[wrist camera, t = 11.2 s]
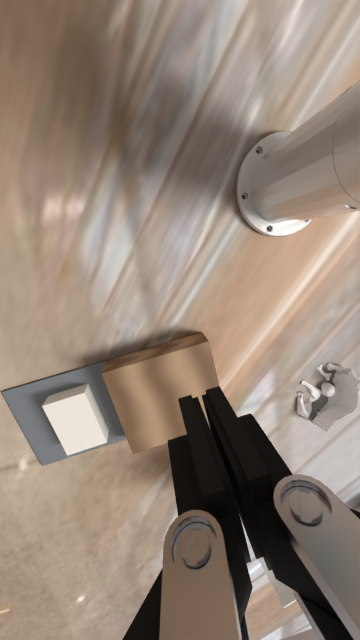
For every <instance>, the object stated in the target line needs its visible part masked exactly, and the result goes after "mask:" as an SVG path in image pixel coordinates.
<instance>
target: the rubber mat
mask: <svg viewBox="0 0 360 640" xmlns="http://www.w3.org/2000/svg"><path fill="white" fill-rule="evenodd" d="M104 364H105V361H103V362H100V363H96V364H93V365H89V366H86V367H83V368H79V369H76V370H72V371H69V372H66V373H62V374H59V375H56V376H52V377H49V378H45V379H42V380H39V381H35V382H32V383H29V384H25V385H22V386H18V387H15V388H12V389H8V390H5V391H2V394H3V396H4V398H5V399H6V401H7V403H8V405H9V407H10V409H11V410H12V412H13V414H14V416H15V418H16V420H17V421H18V423H19V425H20V427H21V429H22V430H23V432H24V434H25V436H26V438H27V440H28V441H29V443H30V445H31V447H32V449H33V451H34V452H35V454H36V456H37V458H38V460H39V462H40V463H41V465H42V466H43V465H47V464H50V463H53V462H56V461H59V460H62V459H65V458H68V457H71V456H74V455H78V454H81V453H84V452H87V451H90V450H93V449H96V448H99V447H102V446H105V445H108V444H112V443H115V442H118V441H121V440H124V439H127V437H126V435H125V432H124V429H123V427H122V424H121V422H120V419H119V417H118V414H117V412H116V409H115V407H114V404H113V401H112V399H111V396H110V394H109V391H108V389H107V386H106V384H105V381H104V379H103V376H102V370H103V367H104ZM85 384H89V386H90V388H91V391H92V393H93V395H94V398H95V400H96V402H97V405H98V407H99V409H100V412H101V414H102V416H103V418H104V421H105V423H106V425H107V428H108V430H109V434H108V439H107V443H104V444H101V445H98V446H95V447H92V448H89V449H86V450H83V451H80V452H77V453H74V454H71V455H68V456H67V454H66V452H65V450H64V448H63V446H62V444H61V442H60V440H59V438H58V436H57V435H56V433H55V431H54V429H53V427H52V425H51V423H50V421H49V419H48V417H47V415H46V413H45V411H44V409H43V407H42V405H43V404H44V402H45V400H46V399H47V397H48V396H50V395H53V394H56V393H59V392H63V391H66V390H69V389H72V388H75V387H79V386H82V385H85Z"/></svg>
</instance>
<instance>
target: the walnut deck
mask: <svg viewBox="0 0 360 640" xmlns="http://www.w3.org/2000/svg"><path fill="white" fill-rule="evenodd" d="M102 376H103V379H104V381H105V384H106V386H107V389H108V391H109V394H110V396H111V399H112V401H113V404H114V407H115V409H116V412H117V414H118V417H119V419H120V422H121V424H122V427H123V429H124V432H125V435H126V437H127V440H128V442H129V445H130V447H131V450H132V452H133V454H135V453H138V452H141V451H144V450H147V449H150V448H153V447H156V446H159V445H162V444H165V443H168V440H170V439H174V438H177V437H180V436H183V435H186V434H187V433H186V429H185V425H184V421H183V417H182V413H181V409H180V405H179V401H178V399H179V398H182V397H185V396H188V395H191V396H192V398H195V397H198V399H199V402H200V404H201V407H202V409H203V412H204V414H205V417H206V420H207V422H208V419H207V415H206V411H205V407H204V403H203V400H202V395H204V394H206V390H207V389H210V388H214V387H217V386H219V383H218V378H217V374H216V370H215V365H214V361H213V357H212V353H211V348H210V344H209V341H208V340H207V338H206V337H205V336H204V334H203V333H202V332H201V333H198V334H194V335H191V336H187V337H184V338H181V339H177V340H174V341H170V342H167V343H164V344H160V345H157V346H154V347H150V348H147V349H143V350H140V351H137V352H133V353H130V354H127V355H123V356H120V357H116V358H113V359H110V360H106V361H105V364H104V367H103V370H102ZM208 425H209V422H208ZM209 427H210V426H209Z"/></svg>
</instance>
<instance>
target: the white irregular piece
mask: <svg viewBox="0 0 360 640" xmlns="http://www.w3.org/2000/svg"><path fill="white" fill-rule="evenodd" d="M327 368H328V370H336V373H335V375H334V378H333V383H335V386H333V385H331V384H330V383H327V382H324V383H323V384H322V385H321V390H320V389H318V388H315V387H313V386H312V385H310V384H309V383H307V382H305V381H304V380H303V381H302V383H301V384H303V385H305V386H306V387H307V388H308V389H309V392H310V393H311V395H312V398H311V397H309V399H308V402H307V403H306V404H303V400H302V399H303V394H302V395H301V397H300V396H299V395H300V394H301V393H302V392H301V393H300V392H299V391H298V396H299V397H297V399H298V403H297V412H296V413H297V414H298V415H301V416H303V417H304V418H305V419H306V420H308V419H309V415H310V413H311V411H312V405H311V402H314V401H316V400H317V399H318V398H319V397H320V396H321V394H323V395H324V396H325V397H328V402H327V404H326V405H325V406H324V407H323V408H322V409H321V410H320V411H319V412H316V411H317V410H316V411H315V413H316V414H317V415H316V417H315V418H314V419H313V421H312V423H314V424H315V425H318V427H320V428H321V429H323V430H324V431H328V429H329V428H330V427H331V425H333V423H334V422H335V421H336V420H338V419H340V418H342V417H344V416H345V415H347V414H349V413H351V412H353V411H354V410H355V408H356V407H357V403H358V393H357V392H358V389H357V384H359V382H360V381H359V380H357V379H356V374H355V373H354V371H353V370H351V369H350V368H349V369H347V368H343V367H341V366H338V365H333V364H330V363H329V364H327ZM317 369H318V371H319V372H320V373H321V374H322V375H323V376H325V378H326V380H327V381H329V380H330V376H331V375H332V373H325V372H324V371H323V370H322V364H321V365H320V366H319V367H317ZM320 393H321V394H320Z"/></svg>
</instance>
